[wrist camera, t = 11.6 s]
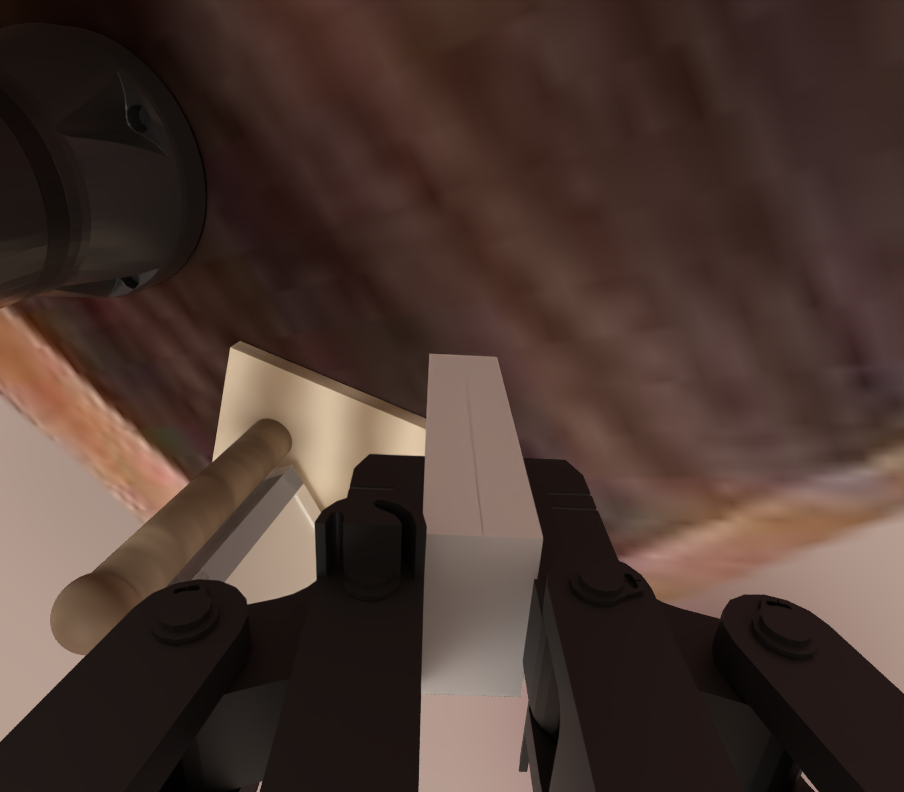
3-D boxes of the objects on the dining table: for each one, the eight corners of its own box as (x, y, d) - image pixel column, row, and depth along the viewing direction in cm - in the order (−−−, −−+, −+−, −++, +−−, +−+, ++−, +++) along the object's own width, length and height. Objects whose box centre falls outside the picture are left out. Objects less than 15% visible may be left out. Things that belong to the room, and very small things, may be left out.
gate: (269, 471, 42) (156, 594, 32) (292, 464, 42) (184, 588, 31) (379, 649, 48) (312, 805, 37) (400, 646, 47) (339, 804, 37)
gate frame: (206, 541, 50) (-1, 769, 33) (240, 340, 41) (-24, 514, 24) (432, 641, 49) (337, 928, 32) (519, 457, 40) (449, 725, 23)
